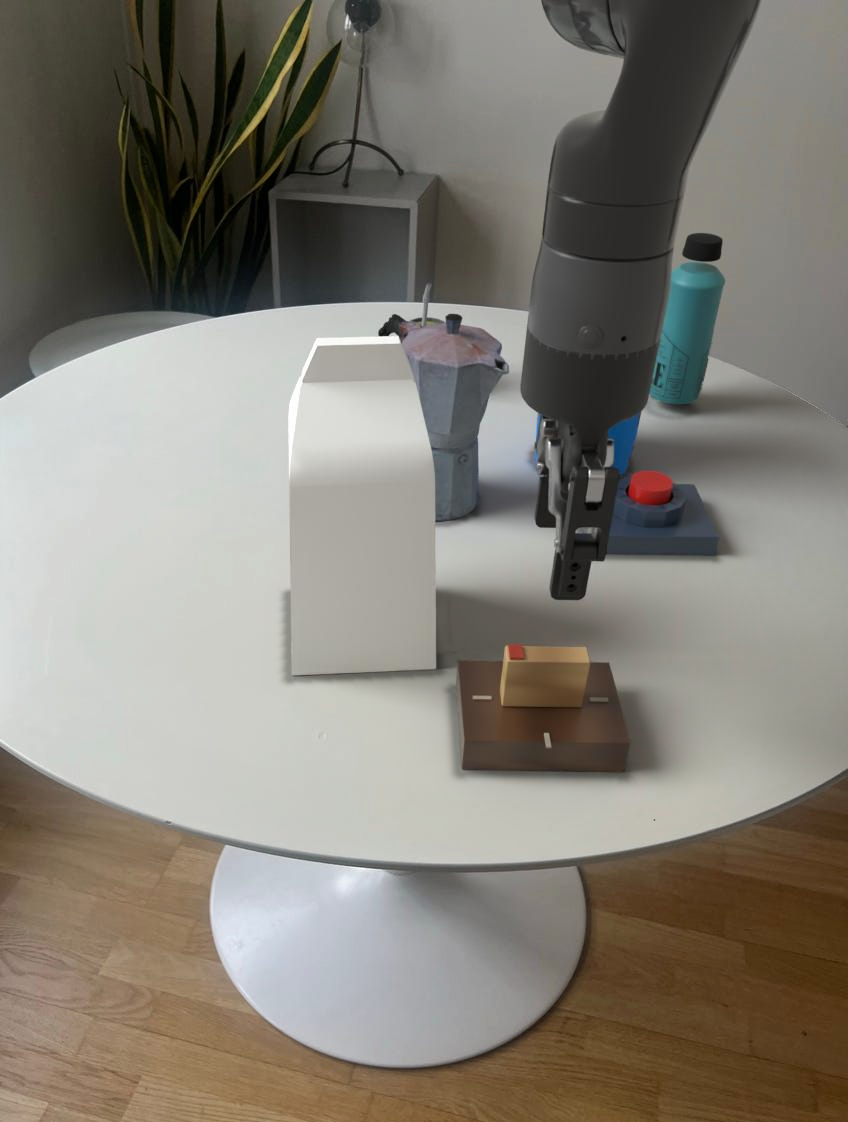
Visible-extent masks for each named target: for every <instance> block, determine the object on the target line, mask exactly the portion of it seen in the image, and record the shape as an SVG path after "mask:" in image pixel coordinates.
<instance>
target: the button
mask: <svg viewBox="0 0 848 1122" xmlns="http://www.w3.org/2000/svg"><path fill="white" fill-rule="evenodd" d="M631 476H632V477H631V481H630V486H629V491H628V496H629V497H630V498H631V499H633V500H634V501H635V502H638V503H642V504H645V505H663V504H666V503H668V502H669V500H670V495H671V491H672V487H673V483H674V481H673V479H672V478H671V477H670V476H668V475H667V474H664V473H662V472H659V471H654V470H641V471H636V472H635V473H633V474H632V475H631Z"/></svg>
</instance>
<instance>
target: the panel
mask: <svg viewBox="0 0 848 1122" xmlns="http://www.w3.org/2000/svg"><path fill="white" fill-rule="evenodd" d="M456 665H457V667H456V679H455V698H456V710H457V712H456V713H457V724H458V725H457V726H458V737H459V750H460V751H459V753H460V764H461V765H460V766H461V770H481V771H482V770H486V771H542V772H543V771H544V772H545V771H551V772H610V773H611V772H613V773H614V772H615V773H616V772H617V773H624V772H625V768H626V764H627V761H628V756H629V752H630V749H631V745H632V743H631V742H632V741H631V738H630V735H629V732H628V727H627V724H626V719H625V716H624V712H623V709H622V706H621V700H620V697H619V694H618V690H617V687H616V686H617V685H616V682H615V679H614V675H613V672H612V668H611V664H610V662H607V661H604V662H602V661H601V662H599V661H590V667H589V672H588V677H587V682H586V688H585V693H584V698H583V703H582V707H517V706H502V704H501V696H500V685H501V677H502V668H503V660H472V659H471V660H470V659H466V660H465V659H464V660H462V659H458V660H457V664H456Z"/></svg>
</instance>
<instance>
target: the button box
mask: <svg viewBox="0 0 848 1122" xmlns="http://www.w3.org/2000/svg"><path fill="white" fill-rule="evenodd" d="M631 477H632V475H629V476H627V477H624V478H620V481H619V482H618V487H617V493H616V499H615V504H614V510H613V516H612V522H611V527H610V533H609V539H608V545H607V555H619V556H620V555H621V556H623V555H624V556H625V555H626V556H697V557H698V556H701V557H705V556H706V557H714V556H715V555H716V552H717V548H718V544H719V540H720V534H719V533H718V531H717V529H716V527H715V525H714V523H713V521H712V519H711V518H712V517H711V516H710V514H709V512H708V510H707V508H706V505H705V503H704V502H703V499H702V497H701V495H700V493H699V491H698V488H697V487H696V485H695V484H694V483H675V482H673V487H672V491H671V495H670V500H669V502H668V503H666V504H663V505H645V504H642V503H638V502H635V501H634V500H633V499H631V498H630V497H629V496H628V491H629V486H630V481H631ZM582 530H583V533H588V527H582Z"/></svg>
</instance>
